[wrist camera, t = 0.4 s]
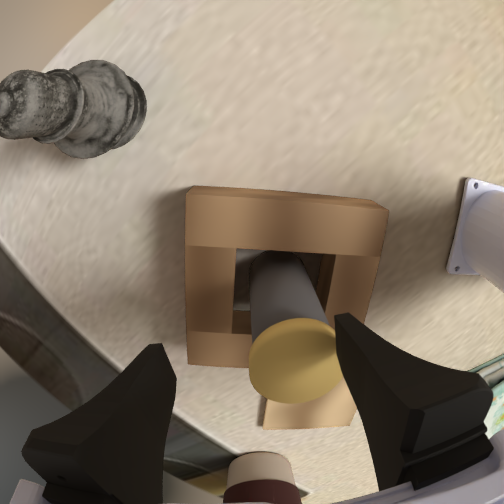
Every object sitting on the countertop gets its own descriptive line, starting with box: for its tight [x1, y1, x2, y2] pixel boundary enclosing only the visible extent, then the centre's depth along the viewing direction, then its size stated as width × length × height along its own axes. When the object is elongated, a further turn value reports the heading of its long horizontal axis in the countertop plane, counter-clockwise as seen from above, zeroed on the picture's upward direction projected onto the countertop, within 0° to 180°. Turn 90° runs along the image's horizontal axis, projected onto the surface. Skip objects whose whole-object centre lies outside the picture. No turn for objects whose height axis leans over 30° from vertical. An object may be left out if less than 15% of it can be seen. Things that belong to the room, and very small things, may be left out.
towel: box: [467, 354, 504, 439], centre depth 29 cm, size 18×21×5 cm
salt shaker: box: [0, 60, 147, 159], centre depth 13 cm, size 6×6×12 cm
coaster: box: [263, 377, 357, 430], centre depth 27 cm, size 9×9×1 cm
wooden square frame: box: [185, 186, 389, 368], centre depth 21 cm, size 12×12×3 cm
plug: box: [249, 250, 343, 404], centre depth 18 cm, size 4×4×10 cm
